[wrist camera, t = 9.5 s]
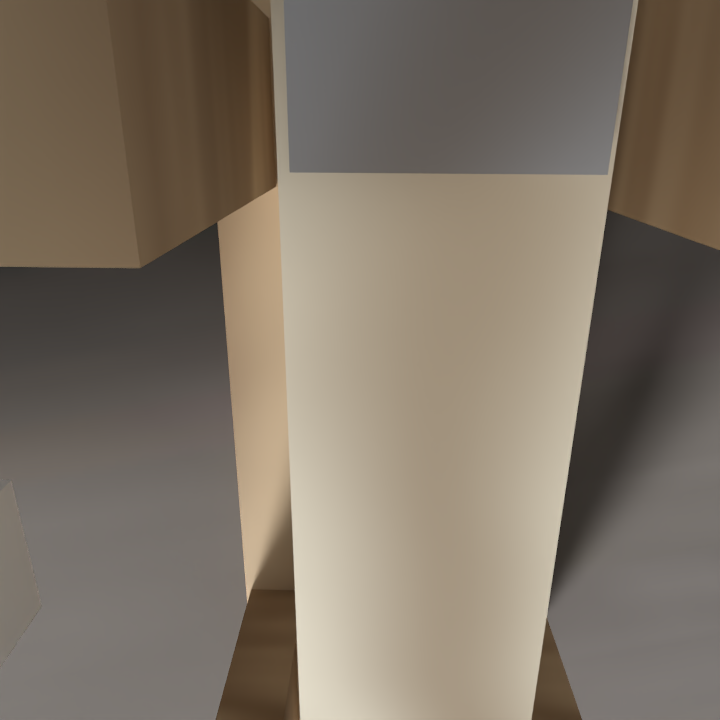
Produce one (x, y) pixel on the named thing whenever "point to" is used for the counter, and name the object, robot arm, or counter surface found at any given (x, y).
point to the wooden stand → (270, 219)
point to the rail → (436, 332)
